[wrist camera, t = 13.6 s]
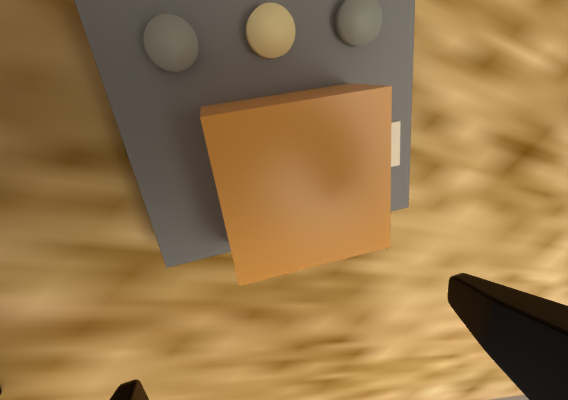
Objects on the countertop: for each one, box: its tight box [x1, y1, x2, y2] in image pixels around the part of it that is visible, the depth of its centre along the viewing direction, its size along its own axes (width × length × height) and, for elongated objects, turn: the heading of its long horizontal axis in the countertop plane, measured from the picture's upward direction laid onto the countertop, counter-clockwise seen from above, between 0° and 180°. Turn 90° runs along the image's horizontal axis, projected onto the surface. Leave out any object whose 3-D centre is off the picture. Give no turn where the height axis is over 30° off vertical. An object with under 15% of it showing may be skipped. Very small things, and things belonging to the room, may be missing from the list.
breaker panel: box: [74, 0, 415, 268], centre depth 16 cm, size 14×12×3 cm
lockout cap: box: [200, 83, 392, 286], centre depth 14 cm, size 7×7×4 cm
